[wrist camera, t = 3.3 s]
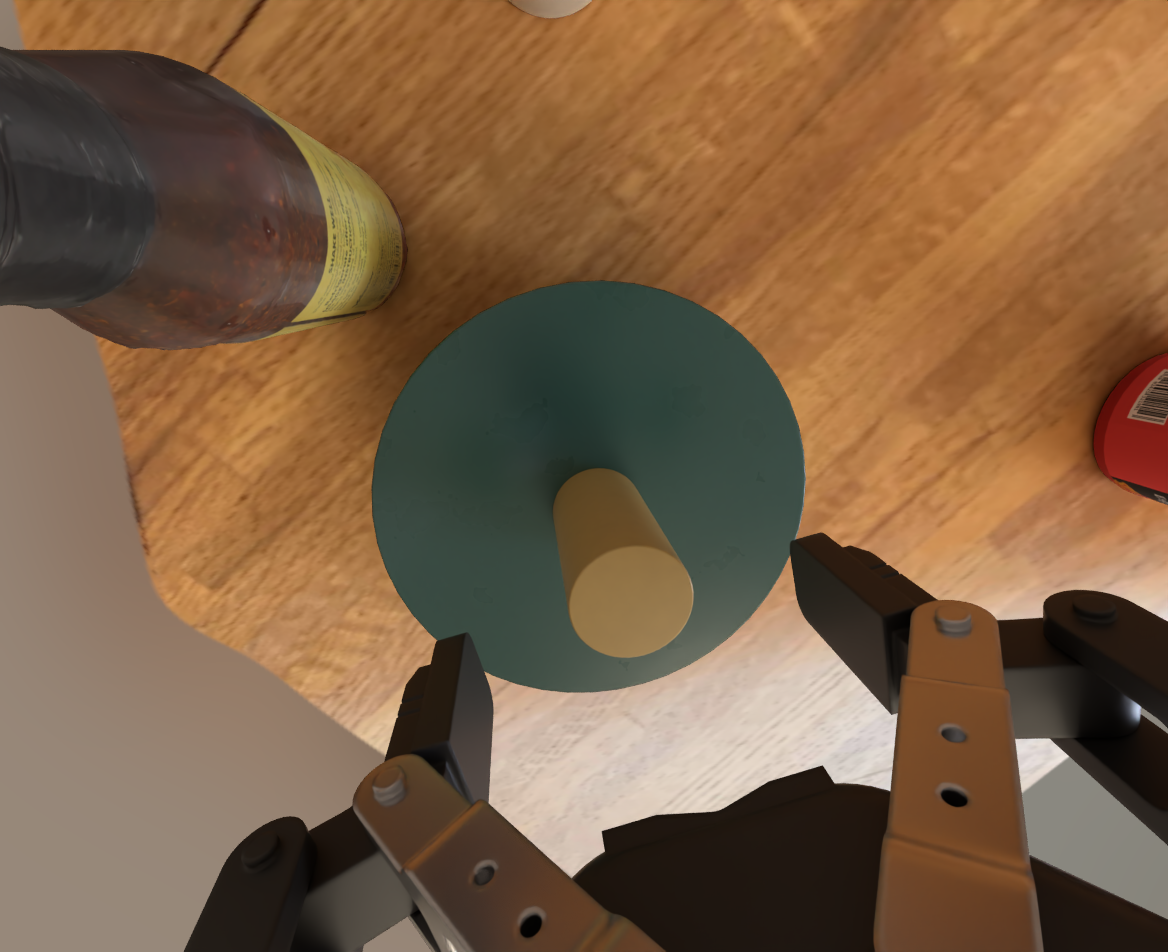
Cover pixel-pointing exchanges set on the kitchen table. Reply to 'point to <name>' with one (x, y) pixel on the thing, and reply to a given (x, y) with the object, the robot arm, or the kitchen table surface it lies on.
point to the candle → (550, 7)
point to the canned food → (1137, 431)
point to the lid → (589, 485)
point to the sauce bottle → (178, 206)
